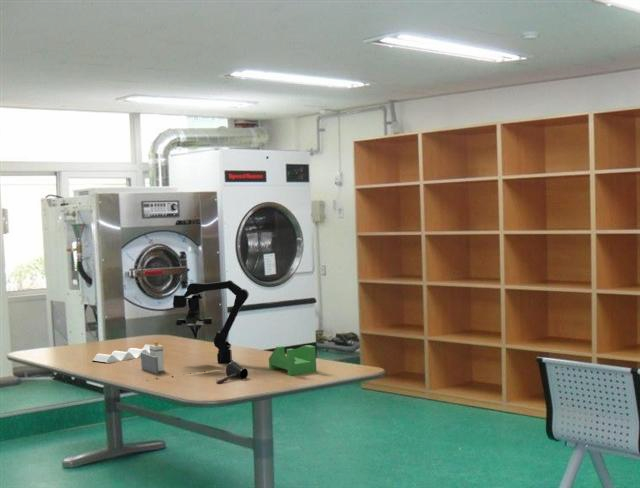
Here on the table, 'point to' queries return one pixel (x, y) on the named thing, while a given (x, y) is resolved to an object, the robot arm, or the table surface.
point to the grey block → (150, 363)
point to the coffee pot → (234, 372)
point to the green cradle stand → (294, 360)
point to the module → (157, 354)
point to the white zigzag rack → (121, 355)
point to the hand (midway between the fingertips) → (196, 338)
